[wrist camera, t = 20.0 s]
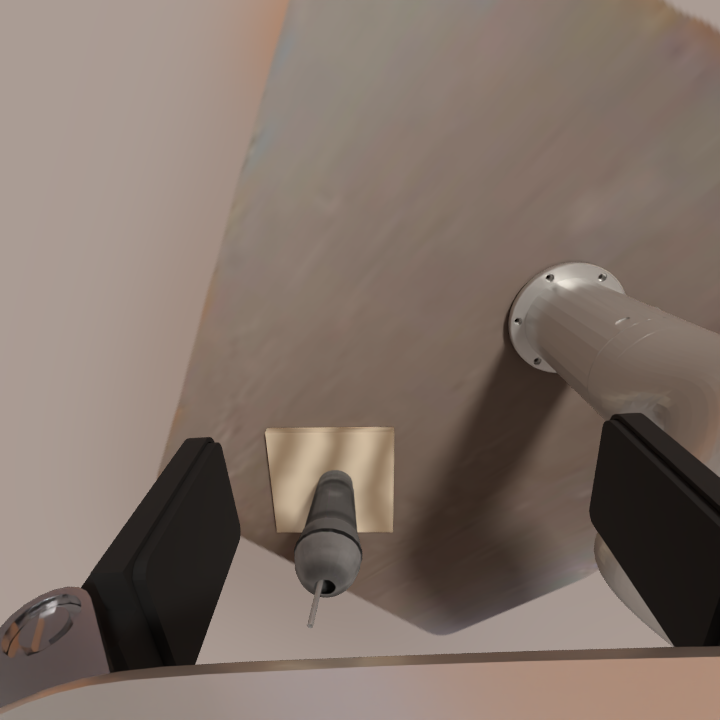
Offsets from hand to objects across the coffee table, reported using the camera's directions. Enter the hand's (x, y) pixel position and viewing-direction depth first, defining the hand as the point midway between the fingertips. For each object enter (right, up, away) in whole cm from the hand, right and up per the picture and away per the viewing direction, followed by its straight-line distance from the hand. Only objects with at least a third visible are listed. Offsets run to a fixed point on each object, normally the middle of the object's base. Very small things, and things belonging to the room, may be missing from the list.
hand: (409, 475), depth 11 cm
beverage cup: (-4, -13, +45) cm, 47 cm away
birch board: (-5, -13, +46) cm, 48 cm away
